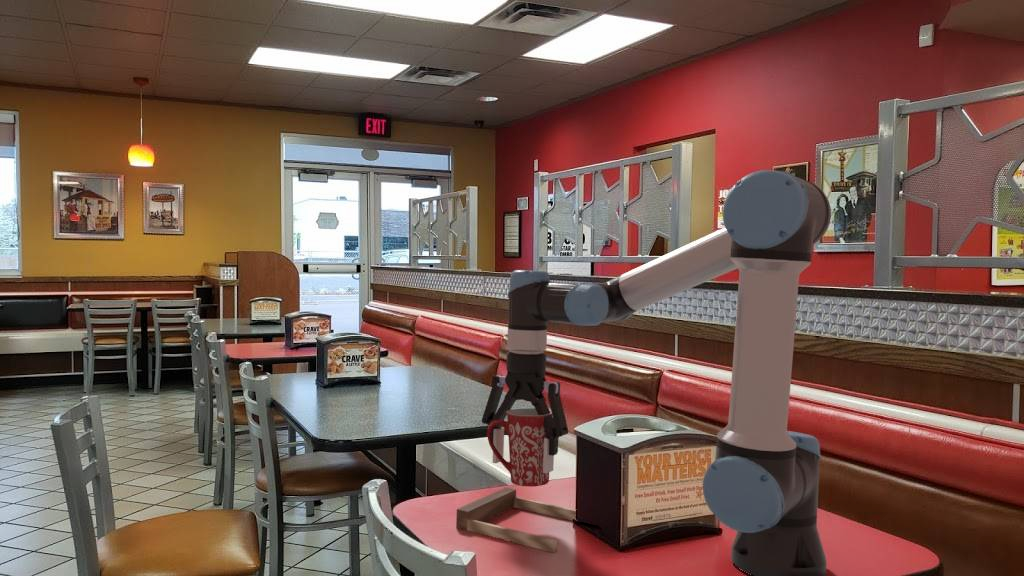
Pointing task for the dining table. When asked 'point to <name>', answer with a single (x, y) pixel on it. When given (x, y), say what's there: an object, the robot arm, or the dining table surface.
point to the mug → (523, 446)
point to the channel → (501, 501)
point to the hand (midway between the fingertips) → (522, 466)
